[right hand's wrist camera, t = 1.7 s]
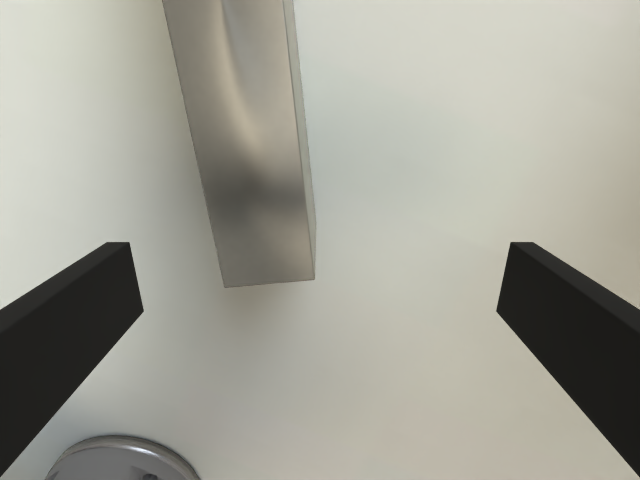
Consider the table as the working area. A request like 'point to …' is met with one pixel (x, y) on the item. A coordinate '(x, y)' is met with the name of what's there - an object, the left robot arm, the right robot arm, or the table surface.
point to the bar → (248, 134)
